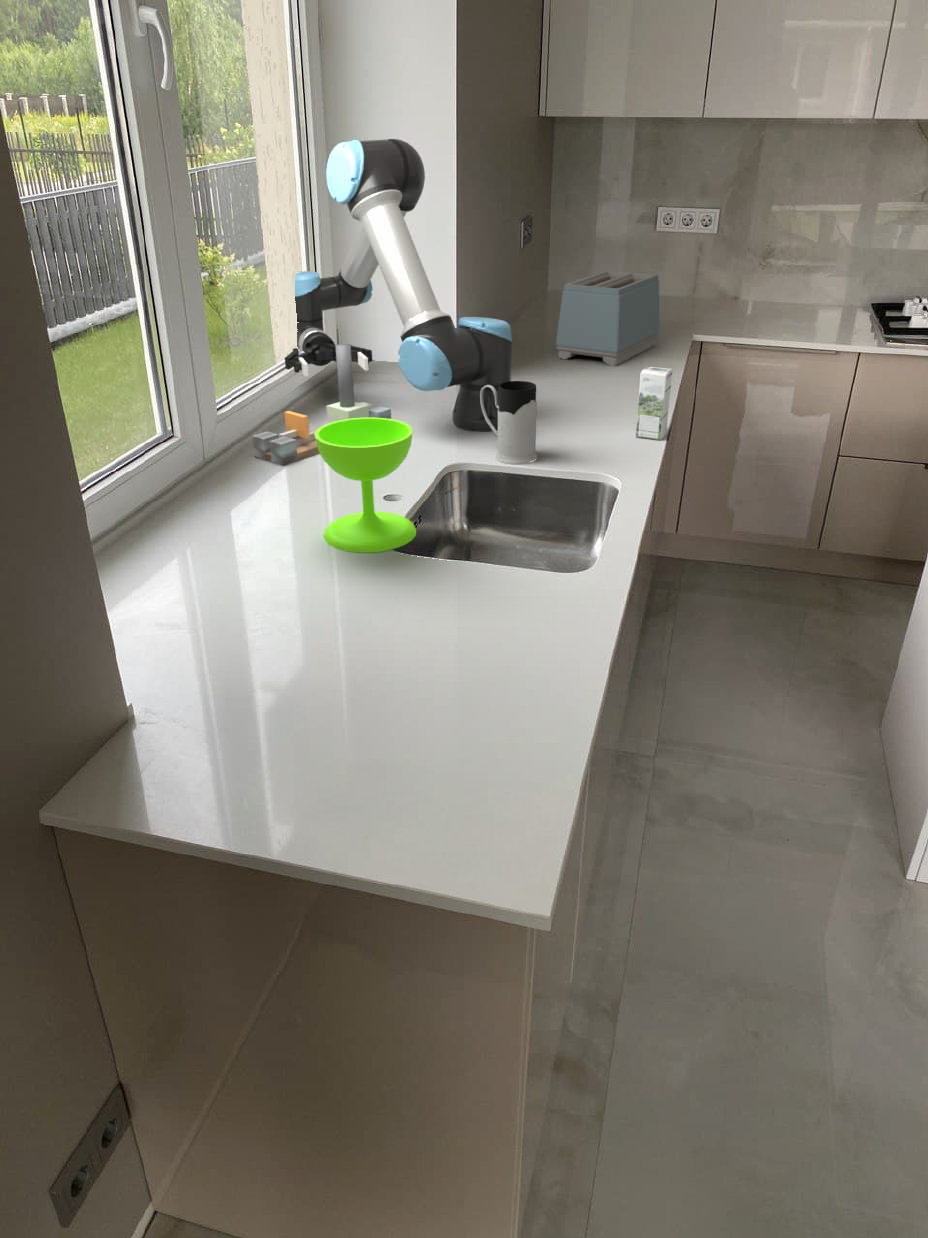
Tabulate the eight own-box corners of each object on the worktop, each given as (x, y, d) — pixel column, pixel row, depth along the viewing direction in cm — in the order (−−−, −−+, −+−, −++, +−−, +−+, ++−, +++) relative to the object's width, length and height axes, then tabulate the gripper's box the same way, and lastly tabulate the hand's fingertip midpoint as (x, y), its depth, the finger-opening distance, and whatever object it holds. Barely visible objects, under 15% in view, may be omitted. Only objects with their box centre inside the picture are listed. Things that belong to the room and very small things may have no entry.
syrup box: (667, 433, 210) (673, 367, 203) (660, 441, 205) (666, 374, 198) (642, 430, 212) (647, 365, 205) (634, 437, 207) (639, 371, 200)
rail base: (391, 428, 215) (390, 408, 213) (282, 465, 194) (280, 444, 192) (364, 420, 220) (362, 401, 218) (254, 456, 199) (252, 435, 197)
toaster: (663, 343, 287) (669, 272, 277) (616, 367, 261) (621, 290, 252) (605, 336, 296) (609, 267, 286) (554, 359, 270) (557, 284, 261)
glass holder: (519, 467, 192) (520, 393, 184) (467, 452, 200) (466, 381, 193) (546, 456, 197) (548, 384, 190) (494, 442, 206) (494, 373, 198)
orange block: (309, 436, 199) (307, 415, 197) (290, 443, 196) (288, 421, 194) (290, 431, 203) (288, 410, 200) (271, 437, 199) (269, 416, 197)
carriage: (369, 418, 210) (364, 345, 203) (349, 424, 206) (344, 350, 199) (347, 412, 214) (342, 340, 207) (327, 418, 210) (321, 345, 203)
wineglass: (312, 524, 167) (303, 424, 158) (398, 509, 173) (393, 412, 164) (338, 559, 154) (330, 453, 146) (430, 542, 160) (427, 439, 151)
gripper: (368, 357, 234) (391, 378, 216) (267, 367, 227) (282, 389, 209) (366, 326, 230) (390, 345, 212) (263, 335, 223) (278, 355, 205)
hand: (336, 367), depth 211 cm, fingers open, 13 cm apart
